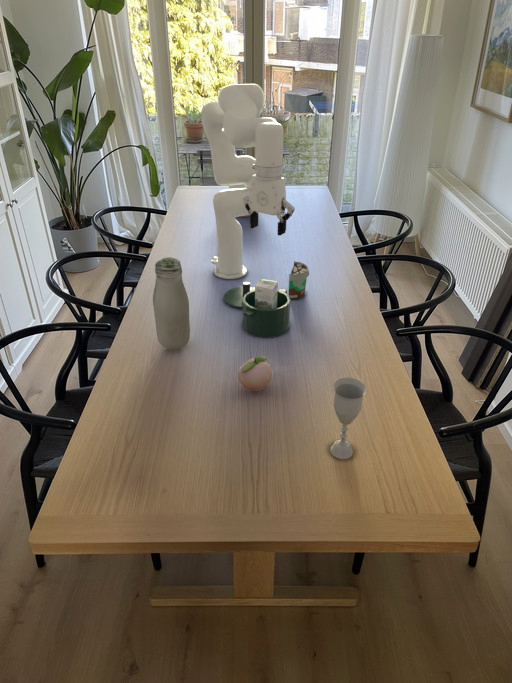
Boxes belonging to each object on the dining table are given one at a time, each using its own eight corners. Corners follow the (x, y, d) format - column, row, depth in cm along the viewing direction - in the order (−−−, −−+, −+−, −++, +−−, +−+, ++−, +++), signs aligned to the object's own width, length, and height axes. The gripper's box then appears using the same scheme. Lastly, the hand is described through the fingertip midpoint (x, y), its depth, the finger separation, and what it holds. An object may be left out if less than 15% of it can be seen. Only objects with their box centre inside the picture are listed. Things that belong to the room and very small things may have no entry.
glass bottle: (164, 358, 148) (155, 269, 133) (153, 342, 156) (143, 255, 141) (196, 350, 152) (191, 262, 137) (184, 334, 160) (177, 249, 145)
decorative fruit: (259, 404, 131) (260, 372, 126) (233, 393, 135) (232, 362, 129) (278, 385, 138) (279, 354, 132) (252, 375, 141) (252, 345, 136)
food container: (305, 303, 178) (307, 276, 172) (287, 301, 179) (289, 274, 173) (309, 287, 188) (311, 262, 183) (292, 286, 189) (294, 260, 184)
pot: (228, 331, 161) (227, 304, 156) (265, 307, 175) (265, 281, 170) (266, 346, 154) (267, 319, 149) (301, 319, 168) (303, 293, 163)
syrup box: (277, 321, 166) (278, 280, 158) (271, 330, 161) (272, 288, 153) (260, 318, 167) (260, 277, 160) (254, 327, 163) (254, 285, 155)
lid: (214, 301, 178) (213, 285, 175) (241, 285, 189) (241, 269, 186) (251, 314, 171) (251, 298, 167) (277, 297, 181) (278, 281, 178)
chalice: (323, 440, 120) (330, 378, 110) (352, 439, 121) (361, 376, 111) (330, 463, 114) (337, 399, 104) (360, 461, 114) (370, 398, 105)
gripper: (235, 169, 144) (236, 228, 153) (287, 179, 136) (285, 240, 145) (251, 163, 149) (251, 221, 158) (302, 173, 141) (299, 233, 150)
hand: (267, 230), depth 151 cm, fingers open, 9 cm apart
